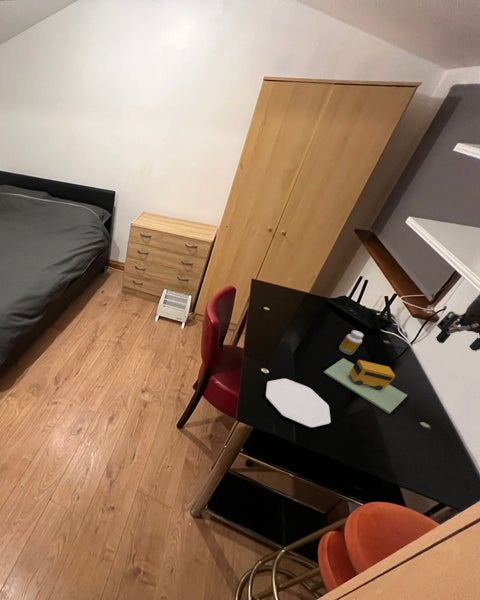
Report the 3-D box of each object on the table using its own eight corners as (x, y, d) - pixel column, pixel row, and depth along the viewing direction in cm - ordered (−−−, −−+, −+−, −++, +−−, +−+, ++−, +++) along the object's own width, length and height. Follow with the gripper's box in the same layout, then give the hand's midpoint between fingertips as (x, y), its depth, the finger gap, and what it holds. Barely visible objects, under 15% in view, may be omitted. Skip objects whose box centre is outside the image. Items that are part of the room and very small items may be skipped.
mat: (406, 396, 119) (407, 395, 119) (389, 414, 112) (390, 412, 111) (342, 359, 134) (343, 358, 134) (323, 372, 127) (324, 371, 127)
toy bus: (376, 381, 124) (389, 366, 119) (382, 391, 119) (395, 376, 115) (346, 374, 126) (357, 359, 122) (351, 383, 122) (362, 368, 117)
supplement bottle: (351, 356, 136) (364, 339, 131) (337, 349, 140) (348, 332, 134) (354, 351, 139) (367, 334, 134) (340, 344, 143) (352, 327, 137)
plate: (326, 397, 116) (328, 394, 115) (330, 438, 102) (332, 436, 101) (266, 374, 124) (268, 371, 123) (262, 410, 109) (264, 407, 108)
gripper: (473, 303, 91) (434, 346, 100) (538, 315, 88) (492, 359, 96) (457, 290, 97) (422, 332, 106) (517, 302, 94) (475, 344, 102)
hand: (455, 345), depth 101 cm, fingers open, 8 cm apart
